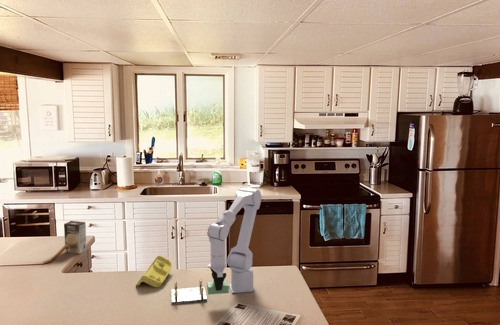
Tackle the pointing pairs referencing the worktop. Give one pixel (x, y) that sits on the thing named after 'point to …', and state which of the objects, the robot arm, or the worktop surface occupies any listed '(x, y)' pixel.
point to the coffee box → (75, 237)
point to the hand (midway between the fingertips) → (217, 286)
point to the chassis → (189, 294)
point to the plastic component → (156, 272)
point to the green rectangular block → (212, 289)
